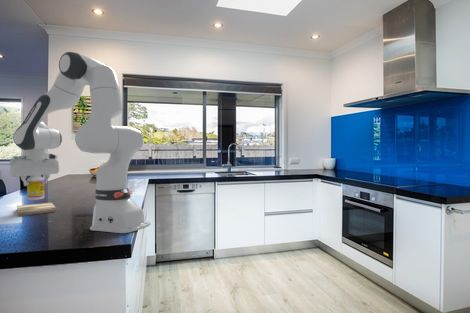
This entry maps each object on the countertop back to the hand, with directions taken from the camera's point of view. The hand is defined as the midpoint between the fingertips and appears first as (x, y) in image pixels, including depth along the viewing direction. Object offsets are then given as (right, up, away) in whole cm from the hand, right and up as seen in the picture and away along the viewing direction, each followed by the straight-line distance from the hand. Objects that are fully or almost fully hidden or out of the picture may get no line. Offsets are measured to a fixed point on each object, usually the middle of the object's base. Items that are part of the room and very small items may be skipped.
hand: (35, 184), depth 132 cm
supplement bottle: (0, -7, 0) cm, 7 cm away
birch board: (0, -13, 0) cm, 13 cm away
